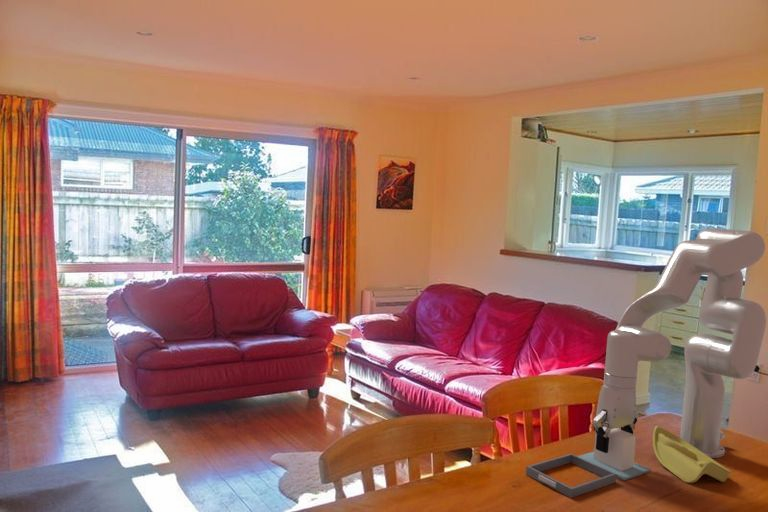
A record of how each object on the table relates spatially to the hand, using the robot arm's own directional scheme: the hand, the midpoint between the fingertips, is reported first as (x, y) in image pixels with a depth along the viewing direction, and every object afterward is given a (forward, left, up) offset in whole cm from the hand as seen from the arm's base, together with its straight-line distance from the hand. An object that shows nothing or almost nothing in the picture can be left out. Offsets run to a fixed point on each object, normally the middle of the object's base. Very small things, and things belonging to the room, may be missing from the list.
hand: (613, 447), depth 156 cm
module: (0, 0, -4) cm, 4 cm away
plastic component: (-16, +10, -5) cm, 20 cm away
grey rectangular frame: (+16, 0, -4) cm, 17 cm away
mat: (0, 0, -4) cm, 4 cm away
